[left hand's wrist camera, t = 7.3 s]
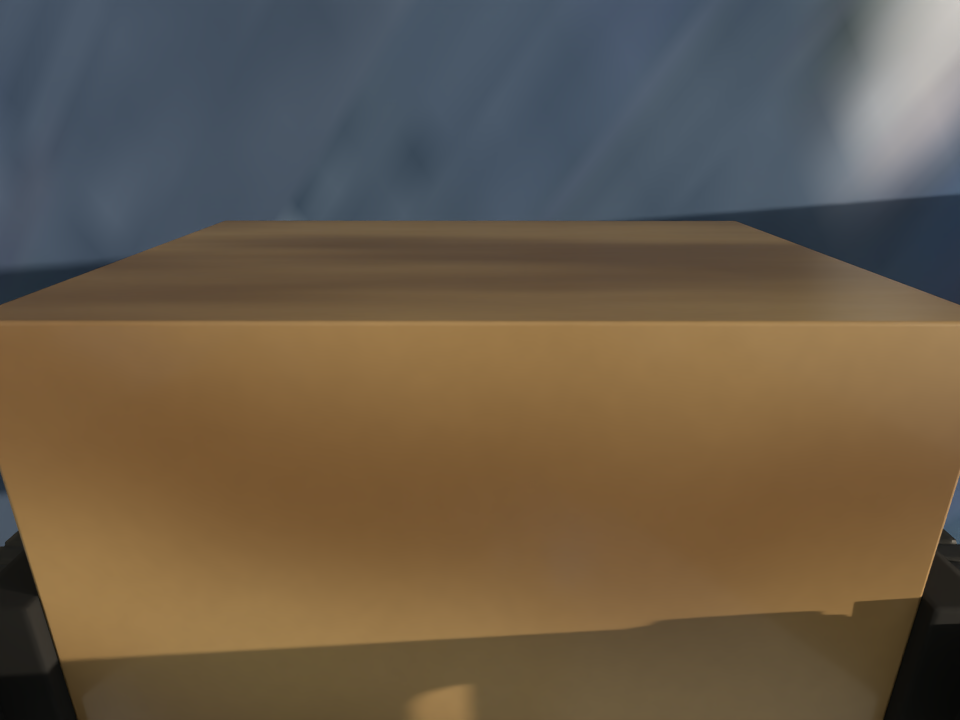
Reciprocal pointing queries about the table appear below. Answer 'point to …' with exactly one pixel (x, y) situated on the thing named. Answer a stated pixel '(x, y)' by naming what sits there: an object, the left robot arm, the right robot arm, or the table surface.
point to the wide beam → (480, 472)
